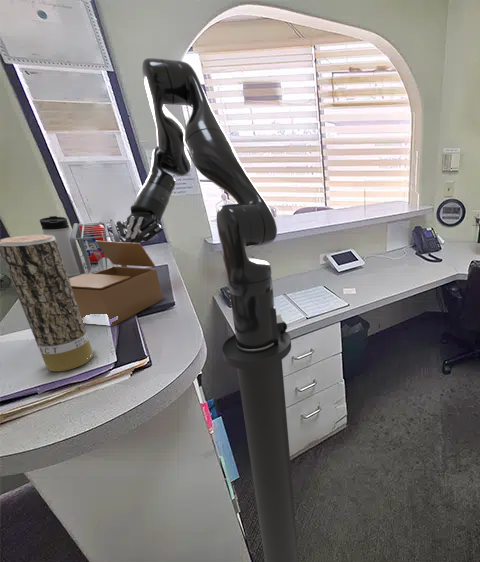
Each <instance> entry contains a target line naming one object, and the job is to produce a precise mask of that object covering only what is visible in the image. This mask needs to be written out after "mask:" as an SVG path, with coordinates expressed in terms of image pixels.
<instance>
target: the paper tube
mask: <svg viewBox="0 0 480 562" xmlns="http://www.w3.org/2000/svg"><path fill="white" fill-rule="evenodd" d="M0 255H1V257H2V258H1V259H2V260H3V263H4V266H5V268H6V270H7V273H8V275H9V278H10V280H11V282H12V286H13V288H14V290H15V292H16V295H17V297H18V301H19V303H20V305H21V307H22V309H23V313H24V315H25V317H26V320H27V322H28V325H29V328H30V330H31V332H32V335H33V337H34V341H35V342H36V344H37V347H38V350H39V352H40V354H41V357H42V359H43V362H44V364H45V367H46V368H47V370H49V371H52V372H66V371H69V370H73V369H75V368H79V367H81V366H83V365H86V364H87V363H88V362H90V361H91V360H92V358H93V357H94V351H93V348H92V345H91V342H90V338H89V335H88V332H87V329H86V327H85V325H84V323H83V320H82V317H81V314H80V311H79V308H78V305H77V302H76V299H75V296H74V293H73V290H72V287H71V284H70V281H69V278H68V275H67V272H66V269H65V266H64V263H63V260H62V257H61V254H60V251H59V248H58V245H57V242H56V239H55V238H54V235H44V234H27V235H18V236H10V237H5V238H1V239H0ZM92 352H93V354H92ZM91 354H92V355H91ZM90 355H91V357H90ZM87 358H88V359H87Z"/></svg>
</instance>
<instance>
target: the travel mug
mask: <svg viewBox="0 0 480 562" xmlns="http://www.w3.org/2000/svg"><path fill="white" fill-rule="evenodd" d="M39 223H40V226H41V230H42V233H43V235H54V238H55V239H56V242H57V245H58V248H59V251H60V254H61V257H62V260H63V263H64V266H65V269H66V272H67V275H68V278H72V277H75V276H78V275H80V272H79V269H78V266H77V263H76V260H75V256H74V253H73V250H72V247H71V243H70V236H71V232H72V230H71V228H70V225H69V223H68V219H67V218H66V217H64V216H57V215H52V216H51V215H49V216H48V217H43V218H41V219H39Z"/></svg>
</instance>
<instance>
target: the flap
mask: <svg viewBox="0 0 480 562" xmlns="http://www.w3.org/2000/svg"><path fill="white" fill-rule="evenodd" d="M95 242H96V243H97V245H98V246H99V247H100V248H101V250H102V251H103V252H104V253H105V255H106V256H107V257H108V258H109V260H110V261H111V262H112V265H113V266H121V265H127V266H128V267H144V268H156V265H155V262H153V260H152V258H151V257H150V256H149V254H148V253H147V251H146V250H145V247H143V245H142V244H141V243H128V242H125V241H120V242H115V241H109V240H108V241H95Z"/></svg>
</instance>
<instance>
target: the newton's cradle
mask: <svg viewBox="0 0 480 562" xmlns="http://www.w3.org/2000/svg"><path fill="white" fill-rule="evenodd" d="M115 223H116V222H115V221H113V220H110V221H106V222H100V223H89V224H80V223H77V222H76V223H73V225H72V229H71V236H70V243H71V247H72V250H73V253H74V256H75V260H76V263H77V266H78V269H79V272H80V275H81V274H84V273H86V270H87V274H93V273H96V272H99V271H102V270H105V269H108V268H111V267H114V265H113V263H112V262H111V261H110V260H109V259H108V258H107V256H106V255H105V258H101V257H102V256H101V257H99V256H100V255H101V254H100V252H99V251H97V250H98V249H96V248H97V247H96V245H95V244H93V243H94V242H92V241H93V240H92V241H90V240H91V239H92V238H100V237H104V241H106V237H107V238H111V237H113V239H114V242H121V239H120V234H119V231H118V228H117V227H116V226H117V225H116V224H115ZM91 224H102V226H104V227H100V228H104V231H100V232H104V233H103V234H104V236H95V237H91V236H90V235H94V234H90V235H88V234H89V233H91V232H88V231H90V230H87V229H90V228H85V229H86V230H85V231H87V232H85V231H84V225H91ZM107 224H109V225H110V228H111V232H112V234H110V235H109V230H108V225H107ZM79 225H83V227H82V234H81V231H80V228H79ZM87 227H91V226H87ZM99 230H103V229H99ZM84 232H85V233H87V234H86V235H88V236H90V237H88V236H86V235H85V236H86V237H85V236H84V235H83V233H84ZM85 233H84V234H85ZM106 234H107V236H106ZM83 236H84V238H83ZM89 238H91V239H89ZM83 239H86V240H88V239H89V240H88V241H90V242H92V243H91V244H93V245H95V246H93V245H91V244H89V243H90V242H89V243H88V244H89V246H90V245H91V246H90V247H92V246H93V247H92V248H94V247H96V248H94V249H96V250H95V251H97V252H99V253H98V254H100V255H98V254H96V253H97V252H95V251H93V250H94V249H93V250H92V251H93V253H94V252H95V253H94V254H96V255H98V256H97V257H99V258H101V259H99V258H97V257H96V258H97V260H98V259H99V260H98V263H97V268H98V269H97V270H94V271H93V268H92V263H90V261H89V258H88V254H87V251H86V248H85V244H84V241H83ZM77 240H78V243H79V247H80V250H81V252H82V256H83V259H84V263H85V265H86V270H85V267H84V264H83V260H82V257H81V255H80V252H79V248H78V245H77ZM88 241H87V242H88ZM92 248H91V249H92ZM96 255H95V256H96ZM120 267H128V265H120Z"/></svg>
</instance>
